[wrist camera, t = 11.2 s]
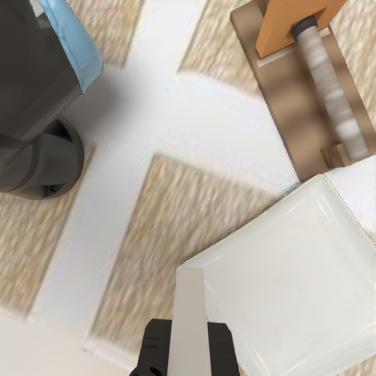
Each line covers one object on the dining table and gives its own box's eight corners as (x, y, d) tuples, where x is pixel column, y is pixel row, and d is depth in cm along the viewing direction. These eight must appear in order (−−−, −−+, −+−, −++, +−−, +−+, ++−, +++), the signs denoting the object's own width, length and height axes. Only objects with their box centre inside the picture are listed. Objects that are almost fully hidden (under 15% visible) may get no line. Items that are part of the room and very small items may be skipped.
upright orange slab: (327, 26, 35) (388, -55, 23) (260, 58, 36) (284, -2, 24) (321, 13, 35) (379, -75, 23) (255, 46, 36) (276, -21, 24)
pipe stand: (375, 149, 38) (418, 143, 30) (300, 181, 39) (321, 182, 31) (303, -20, 38) (327, -72, 30) (230, 18, 39) (233, -22, 31)
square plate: (175, 263, 43) (171, 271, 39) (313, 170, 39) (324, 170, 35) (266, 393, 42) (271, 415, 38) (414, 311, 39) (436, 326, 35)
